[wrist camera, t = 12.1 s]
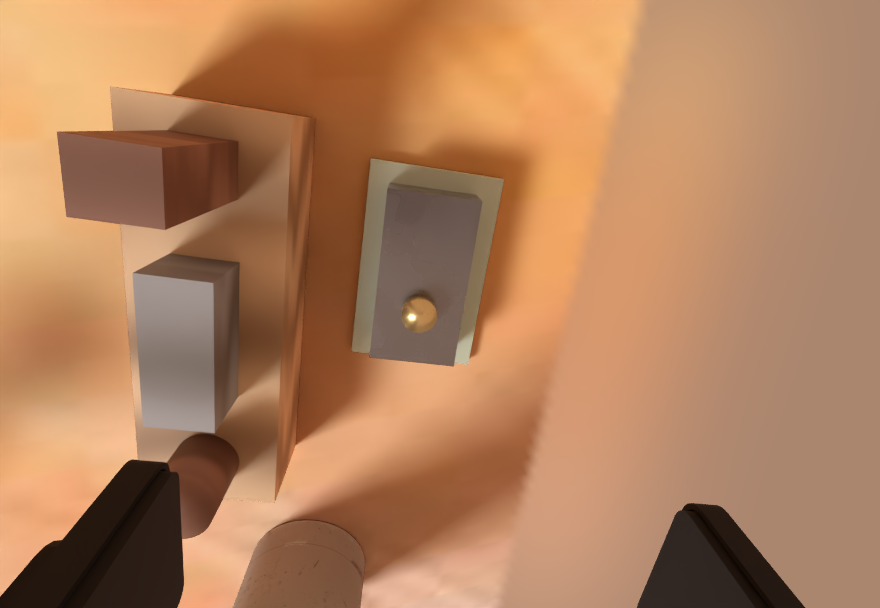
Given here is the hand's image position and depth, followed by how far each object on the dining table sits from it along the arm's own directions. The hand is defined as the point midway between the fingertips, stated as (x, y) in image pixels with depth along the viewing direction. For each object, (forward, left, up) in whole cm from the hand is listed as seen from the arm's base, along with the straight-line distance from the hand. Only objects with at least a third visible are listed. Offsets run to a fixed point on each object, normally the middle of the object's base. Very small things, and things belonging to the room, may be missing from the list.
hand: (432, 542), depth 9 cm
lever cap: (0, 0, -19) cm, 19 cm away
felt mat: (0, 0, -19) cm, 19 cm away
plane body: (+3, -10, -19) cm, 22 cm away
